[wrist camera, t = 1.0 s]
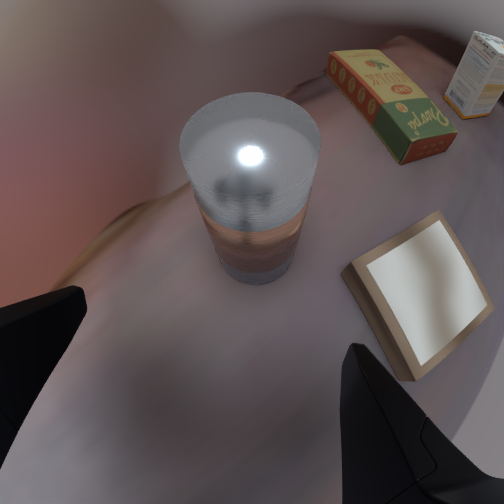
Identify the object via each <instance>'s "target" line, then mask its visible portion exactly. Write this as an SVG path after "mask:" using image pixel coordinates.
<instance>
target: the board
mask: <svg viewBox="0 0 504 504" xmlns="http://www.w3.org/2000/svg"><path fill="white" fill-rule="evenodd" d="M341 275H342V277H343V279H344V281H345V282H346V284H347V286H348V287H349V289H350V291H351V293H352V294H353V296H354V298H355V300H356V301H357V303H358V305H359V307H360V308H361V310H362V312H363V314H364V316H365V317H366V319H367V321H368V323H369V325H370V326H371V328H372V330H373V332H374V334H375V336H376V338H377V339H378V341H379V343H380V345H381V347H382V349H383V351H384V353H385V355H386V357H387V358H388V360H389V362H390V364H391V366H392V368H393V370H394V372H395V374H396V376H397V378H398V380H400V381H418V380H419V379H420V378H421V377H423V376H424V375H425V374H426V373H427V372H429V371H430V370H431V369H432V368H433V367H435V366H436V365H437V364H438V363H439V362H440V361H442V360H443V359H444V358H445V357H446V356H447V355H448V354H450V353H451V352H452V351H453V350H454V349H455V348H456V347H457V346H458V345H459V344H460V343H461V342H462V341H463V340H465V339H466V338H467V337H468V336H469V335H470V334H471V333H472V332H473V331H474V330H475V329H476V328H477V327H478V326H479V325H480V323H481V322H482V321H483V320H484V319H485V318H486V317H487V316H488V315H489V314H490V313H491V312H492V311H493V310H494V306H493V304H492V301H491V299H490V297H489V295H488V293H487V291H486V289H485V287H484V285H483V283H482V281H481V279H480V277H479V275H478V274H477V272H476V270H475V268H474V266H473V264H472V263H471V261H470V259H469V257H468V256H467V254H466V252H465V250H464V249H463V247H462V245H461V244H460V242H459V240H458V239H457V237H456V235H455V234H454V232H453V231H452V229H451V228H450V226H449V224H448V223H447V221H446V220H445V218H444V217H443V215H442V214H441V212H440V211H439V210H437V211H436V212H434V213H433V214H431V215H429V216H428V217H426V218H424V219H423V220H421V221H420V222H418V223H416V224H415V225H413V226H411V227H410V228H408V229H406V230H405V231H403V232H401V233H400V234H398V235H396V236H395V237H393V238H391V239H390V240H388V241H386V242H384V243H383V244H381V245H379V246H377V247H376V248H374V249H372V250H371V251H369V252H367V253H365V254H363V255H362V256H360V257H358V258H356V259H355V260H353V261H351V262H350V263H349V265H348V266H347V267H346V268H345V269H344V271H343V272H342V273H341Z"/></svg>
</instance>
